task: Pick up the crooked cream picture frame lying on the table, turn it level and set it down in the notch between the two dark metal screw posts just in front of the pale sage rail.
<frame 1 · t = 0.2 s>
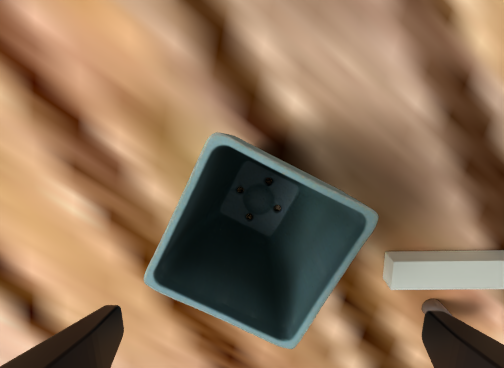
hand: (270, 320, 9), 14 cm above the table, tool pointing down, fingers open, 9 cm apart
flower pot: (258, 195, 23), on the table
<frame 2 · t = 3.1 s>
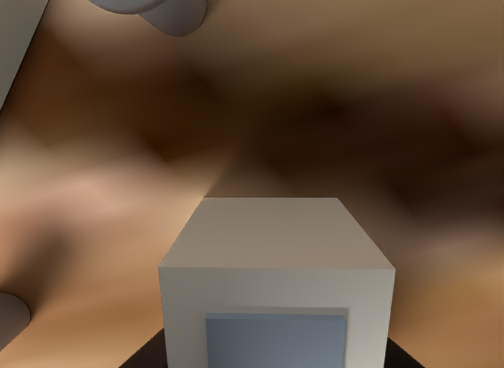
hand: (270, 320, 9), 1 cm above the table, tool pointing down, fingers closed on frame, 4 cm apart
frame: (269, 299, 10), on the table, touching gripper
when the fingers open (3 cm above the table, at t = 6.9 s): frame drops 2 cm, on the table.
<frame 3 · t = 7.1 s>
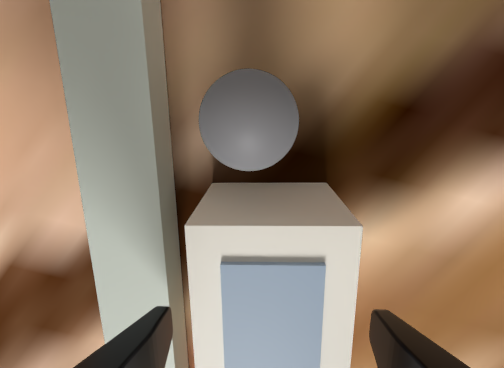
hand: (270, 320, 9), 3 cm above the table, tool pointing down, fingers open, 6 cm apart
frame: (268, 269, 11), on the table
rail: (150, 270, 11), on the table
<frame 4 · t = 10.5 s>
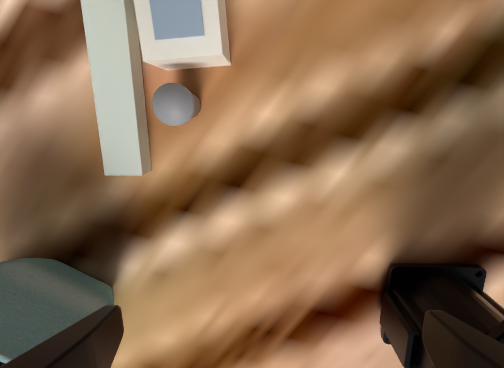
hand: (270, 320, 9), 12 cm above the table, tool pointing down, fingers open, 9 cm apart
flower pot: (73, 294, 23), on the table
frame: (192, 5, 18), on the table
rail: (115, 5, 18), on the table
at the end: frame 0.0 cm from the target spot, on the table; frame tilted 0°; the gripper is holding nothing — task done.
